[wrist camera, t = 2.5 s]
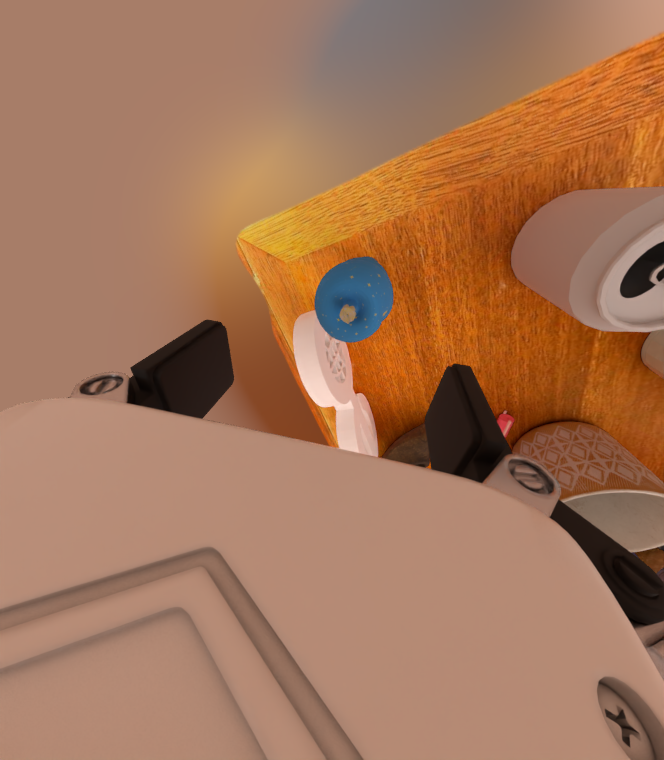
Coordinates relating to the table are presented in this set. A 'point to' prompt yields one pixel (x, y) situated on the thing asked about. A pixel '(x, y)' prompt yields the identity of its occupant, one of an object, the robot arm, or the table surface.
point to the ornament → (354, 299)
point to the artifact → (410, 448)
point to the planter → (600, 481)
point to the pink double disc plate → (333, 384)
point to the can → (598, 257)
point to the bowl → (654, 352)
